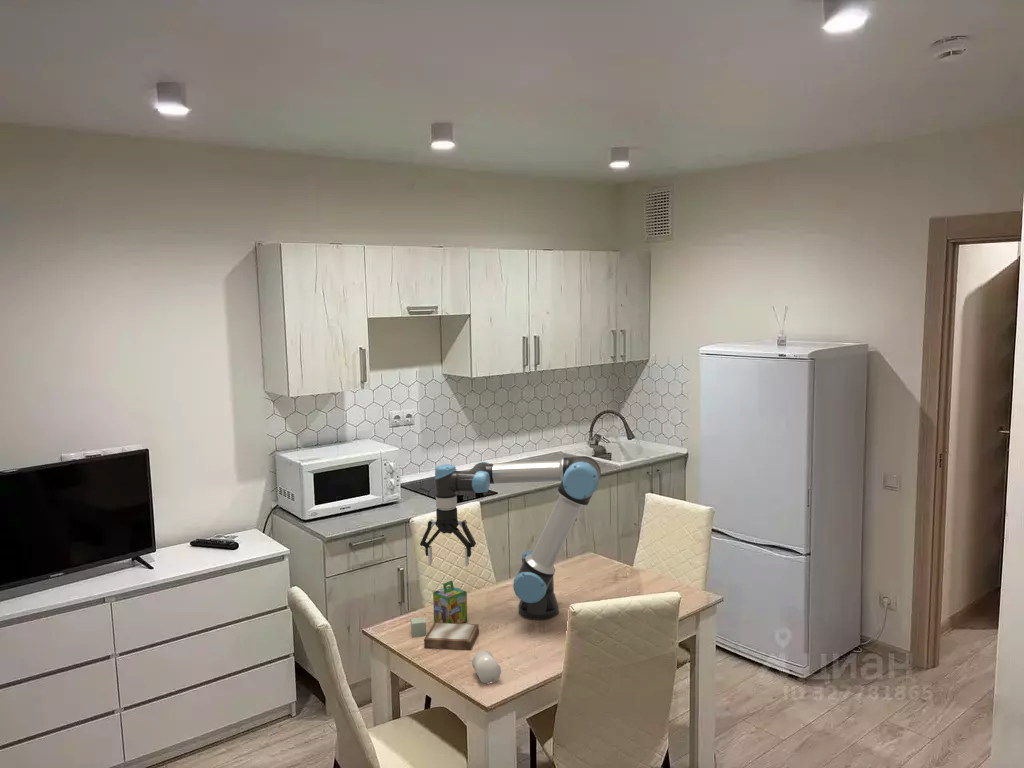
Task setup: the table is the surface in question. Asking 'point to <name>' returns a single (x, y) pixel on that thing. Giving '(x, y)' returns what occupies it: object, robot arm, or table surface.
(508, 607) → the table surface
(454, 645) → the podium
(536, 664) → the table surface
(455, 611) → the chalk box
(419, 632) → the sage block
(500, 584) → the table surface
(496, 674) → the white rounded capsule
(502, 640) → the table surface
